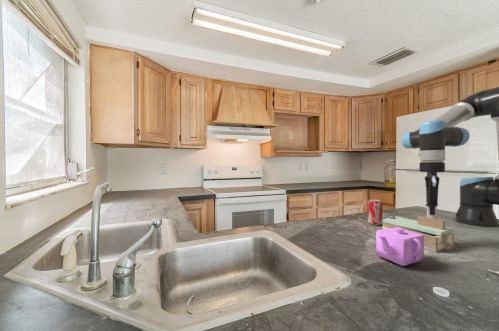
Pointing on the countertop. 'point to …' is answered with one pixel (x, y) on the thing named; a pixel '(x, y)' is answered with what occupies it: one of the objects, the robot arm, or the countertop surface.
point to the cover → (421, 224)
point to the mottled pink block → (400, 246)
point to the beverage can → (375, 212)
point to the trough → (429, 238)
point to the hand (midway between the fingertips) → (431, 222)
